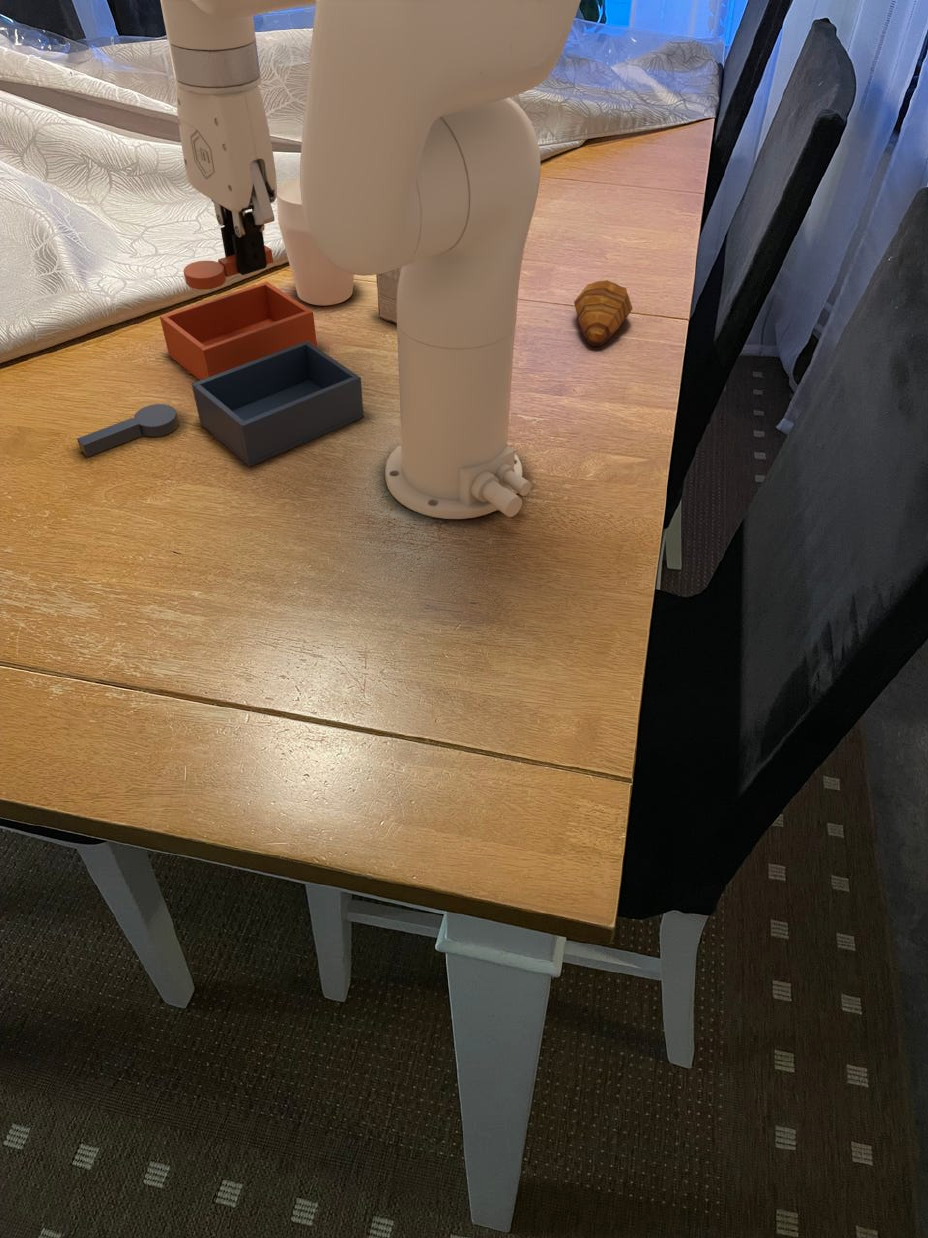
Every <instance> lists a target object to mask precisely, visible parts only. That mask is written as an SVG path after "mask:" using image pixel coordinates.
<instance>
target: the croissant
mask: <svg viewBox="0 0 928 1238" xmlns="http://www.w3.org/2000/svg"><path fill="white" fill-rule="evenodd" d="M573 303H574V308H575V312H576V314H577V316H578V320H577V321H578V324H579V327H580V329H581V332H582V334H583V337H584V339H585V341H586V342H587V343H588V345H590V346H593V347H598V346H599V347H601V346H602V345H604V344H605V343H607V342H608V341H609V339H611V337H613V336H614V334H616V332H617V331H618V330H619V328H620V327H621V326H622V323H623V322H624V321H625V320H626V319H627V318H628V317H629V315H630V314H631V312H632V311H633V305H632V302H631V300H630V297H629V294H628V290H627V288H626V287H624V286H621V285H619V284H617V283H616V282H613V281H610V280H608V279H606V280H598V281H595V282H592V283H587V284H586V286H585V287H584V288H583V290H582V291H581V292H580V294H579V295H578V296H577V297H576V299H575V300H573Z"/></svg>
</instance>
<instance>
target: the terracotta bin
mask: <svg viewBox="0 0 928 1238" xmlns="http://www.w3.org/2000/svg"><path fill="white" fill-rule="evenodd" d="M159 320H160V324H161V328H162V332H163V336H164V340H165V345H166V348H167V354H168V356H169V357H170V358H172V359H173V360H174V361H175V362H177V363H178V364H179V365H181V367H183V368H184V369H185V370H186V371H188V372H189V373H190V374H191V375H193V376H194V377H195V378H197V380H198V381H200V380H203V379H206V378H208V377H211V376H214V375H217V374H219V373H222V372H225V371H227V370H230V369H233V368H235V367H238V366H241V365H243V364H246V363H249V362H251V361H254V360H257V359H260V358H262V357H265V356H268V355H270V354H273V353H276V352H278V351H281V350H284V349H286V348H289V347H292V346H294V345H297V344H300V343H303V342H305V341H309V342H310V343H311V344H313V345H314V346H316V347H317V348H318V343H317V334H316V326H315V325H316V323H315V315H314V311H313V310H311V309H310V308H309V307H307V306H305V305H304V304H303V303H301V302H299V301H298V300H297V299H294V298H293V297H292V296H290V295H288V294H287V293H285V292H284V291H282V290H281V289H279V288H277V287H276V286H275V285H274V284H272V283H270V282H269V281H264V282H260V283H258V284H255V285H251V286H248V287H245V288H242V289H240V290H237V291H233V292H231V293H227V294H223V295H221V296H218V297H215V298H211V299H208V300H206V301H202V302H199V303H197V304H194V305H191V306H188V307H184V308H181V309H178V310H175V311H172V312H169V313H165V314H162V315H160V316H159Z"/></svg>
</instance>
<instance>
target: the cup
mask: <svg viewBox="0 0 928 1238" xmlns="http://www.w3.org/2000/svg"><path fill="white" fill-rule="evenodd" d="M276 210H277V211H276V212H277V222H278V226H279V230H280V235H281V237H282V241H283V245H284V249H285V253H286V256H287V260H288V264H289V268H290V272H291V275H292V279H293V282H294V286H295V290H296V293H297V296H298V298H299V299H300V300H301V301H303V302H305V303H307V304H310V305H314V306H333V305H338V304H341V303H343V302H345V301H347V300H348V299H350V297H351V296H353V292H354V291H353V290H354V277H355V275H353V274H349V273H347V272H344V271H342V270H340V269H338V268H336V267H335V266H334V265H332V264H331V263H330V262H329V261H328V260H327V259H326V258H325V257H324V256H323V255H322V254H321V253H320V251H319V250H318V248H317V246H316V245H315V243H314V241H313V239H312V237H311V235H310V233H309V230H308V227H307V224H306V220H305V217H304V213H303V208H302V201H301V192H300V177H297V178H293V179H289V180H287V181H284V182H282V183H281V184H279V185H277V197H276Z"/></svg>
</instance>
